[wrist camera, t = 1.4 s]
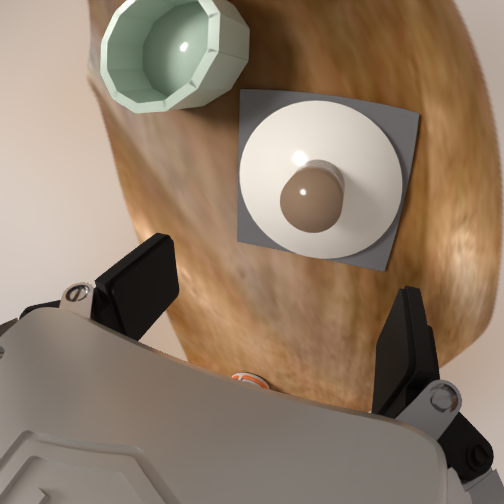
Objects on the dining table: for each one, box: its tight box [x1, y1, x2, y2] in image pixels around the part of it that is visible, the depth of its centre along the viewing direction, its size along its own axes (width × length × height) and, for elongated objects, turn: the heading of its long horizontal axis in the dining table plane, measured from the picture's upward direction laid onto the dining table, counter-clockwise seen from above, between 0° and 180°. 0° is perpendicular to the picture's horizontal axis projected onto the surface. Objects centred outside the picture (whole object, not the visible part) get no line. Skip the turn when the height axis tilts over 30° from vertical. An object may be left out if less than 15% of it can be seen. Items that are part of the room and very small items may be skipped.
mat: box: [237, 89, 419, 272], centre depth 22 cm, size 14×14×1 cm
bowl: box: [101, 0, 250, 113], centre depth 17 cm, size 11×11×6 cm
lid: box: [240, 101, 402, 259], centre depth 20 cm, size 13×13×5 cm
